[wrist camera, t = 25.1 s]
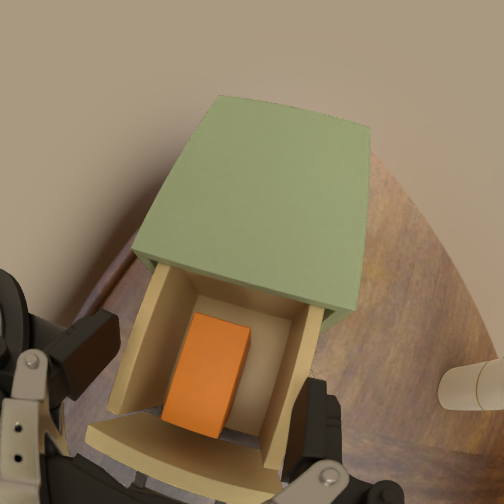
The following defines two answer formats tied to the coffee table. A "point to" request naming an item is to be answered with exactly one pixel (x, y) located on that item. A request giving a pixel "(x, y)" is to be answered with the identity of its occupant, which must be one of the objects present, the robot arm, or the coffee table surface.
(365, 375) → the coffee table surface
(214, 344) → the orange rectangular box
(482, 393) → the tube
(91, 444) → the drawer
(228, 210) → the cabinet
